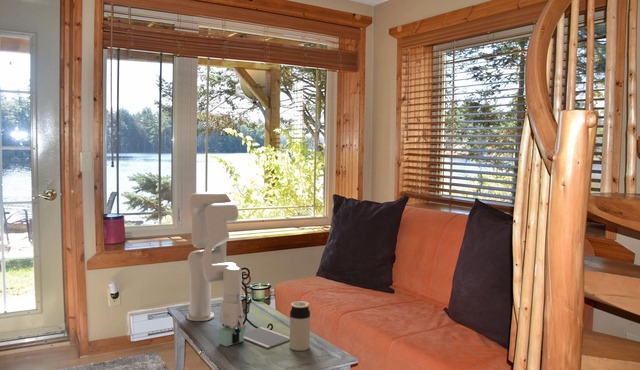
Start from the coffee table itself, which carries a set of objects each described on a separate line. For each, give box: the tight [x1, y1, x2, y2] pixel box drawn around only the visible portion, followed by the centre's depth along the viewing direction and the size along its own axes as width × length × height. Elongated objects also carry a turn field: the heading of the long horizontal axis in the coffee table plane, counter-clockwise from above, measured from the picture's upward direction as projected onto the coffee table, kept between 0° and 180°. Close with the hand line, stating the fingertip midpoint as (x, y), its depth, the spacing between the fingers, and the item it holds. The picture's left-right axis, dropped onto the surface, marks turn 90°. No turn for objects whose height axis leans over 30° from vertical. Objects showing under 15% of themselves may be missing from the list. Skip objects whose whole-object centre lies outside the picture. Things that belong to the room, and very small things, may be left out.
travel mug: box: [289, 300, 311, 352], centre depth 223 cm, size 8×8×18 cm
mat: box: [244, 326, 290, 350], centre depth 234 cm, size 20×14×1 cm
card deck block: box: [218, 326, 245, 347], centre depth 227 cm, size 4×9×6 cm, turn 137°
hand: (231, 340), depth 228 cm, fingers closed on card deck block, 4 cm apart
